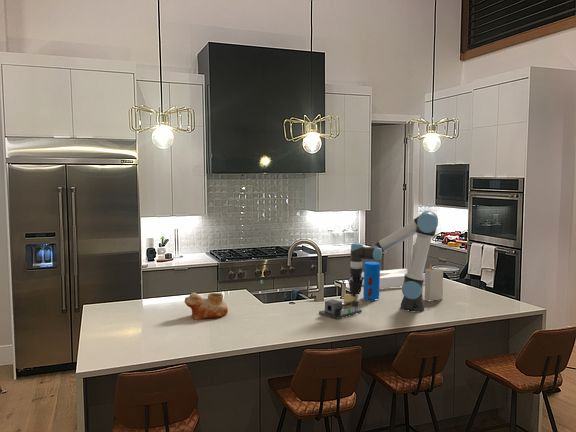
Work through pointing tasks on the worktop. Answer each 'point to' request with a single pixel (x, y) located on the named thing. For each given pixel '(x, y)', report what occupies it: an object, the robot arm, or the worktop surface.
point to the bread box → (391, 278)
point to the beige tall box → (433, 283)
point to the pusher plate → (350, 300)
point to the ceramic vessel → (207, 306)
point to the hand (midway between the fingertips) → (355, 303)
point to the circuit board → (338, 309)
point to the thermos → (371, 280)
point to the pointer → (355, 304)
